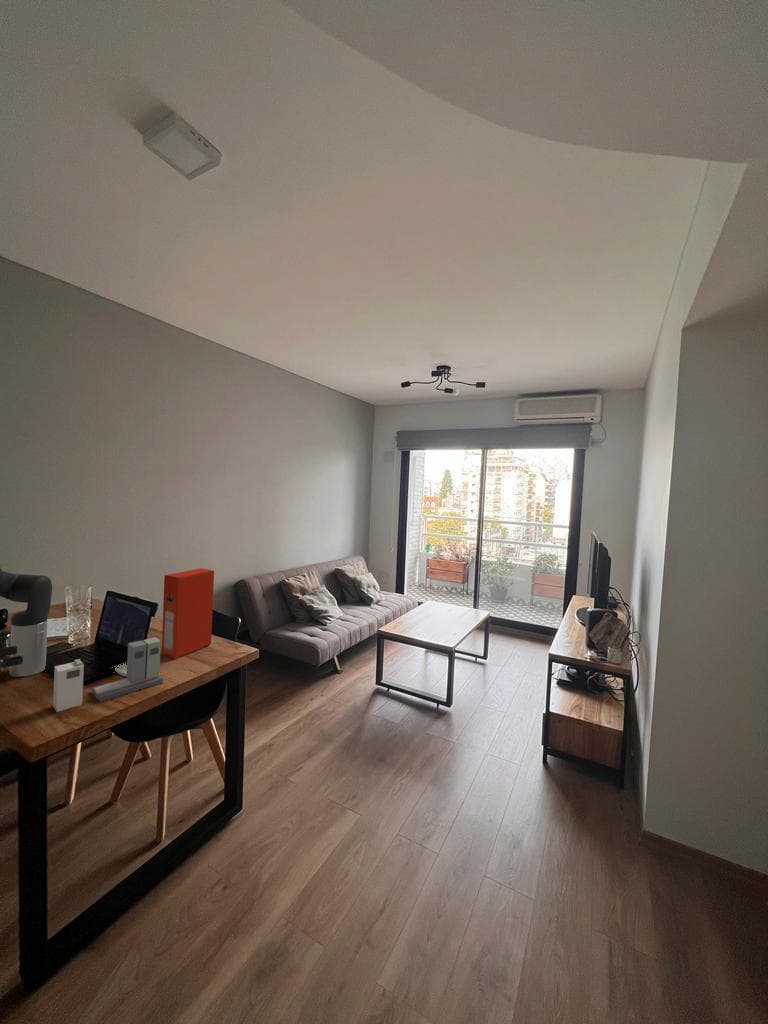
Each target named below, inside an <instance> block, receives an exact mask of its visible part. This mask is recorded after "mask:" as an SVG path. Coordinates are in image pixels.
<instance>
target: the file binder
mask: <svg viewBox="0 0 768 1024" xmlns="http://www.w3.org/2000/svg"><path fill="white" fill-rule="evenodd" d="M163 580H164V583H163V605H162V607H163V608H162V610H163V611H162V634H161V636H162V637H161V655H162V656H164V657H167V658H170V659H174V660H176V659H179V658H181V657H183V656H186V655H188V654H191V653H192V652H195V651H198V650H200V649H202V648H205V647H207V646H210V645H212V632H213V631H212V630H213V629H212V628H213V606H214V605H213V604H214V585H215V584H214V583H215V571H214V570H211V569H208V568H202V567H201V568H196V569H195V568H194V569H190V570H186V571H180V572H175V573H170V574H165V575H164V579H163Z"/></svg>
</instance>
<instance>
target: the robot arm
mask: <svg viewBox="0 0 768 1024" xmlns="http://www.w3.org/2000/svg"><path fill="white" fill-rule="evenodd" d="M52 594H53V582H52V580H51V578H50V577H48V576H47V575H36V574H21V573H20V574H19V573H12V572H9V571H8V572H7V571H4V570H2V567H0V597H1V598H3V599H6V600H7V601H11V602H15V603H24V604H25V603H26V605H27V606H26V609H25V610H22V611H18V612H16V613H14V614H13V615H12V616H11V619H10V620H11V622H10V624H11V625H10V633H11V634H10V646H6V647H2V648H1V647H0V673H1V670H3V669H5V668H9V676H11V677H15V678H16V677H17V678H19V677H21V678H22V677H30V676H32V675H33V676H34V675H36V674H40V673H41V672H43V671H45V669H46V668H45V666H47V663H46V662H47V643H48V642H47V639H48V618H49V617H48V616H49V613H50V611H51V606H52V604H51V603H52ZM8 656H9V657H8ZM4 657H6V658H4Z"/></svg>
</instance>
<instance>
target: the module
mask: <svg viewBox="0 0 768 1024" xmlns="http://www.w3.org/2000/svg"><path fill="white" fill-rule="evenodd" d="M84 665H85V664H84V663H83V661H81V659H80V658H78V659H74V661H73V662H69V663H64V664H59V665H54V671H53V672H54V676H53V677H54V678H53V700H52V701H53V703H52V706H53V708H54V710H55V711H56V713H58V712H62V711H65V710H69V709H72V708H75V707H79V706H82V705H83V694H84V693H83V692H84V673H85V672H84V671H85V669H84V668H85V666H84Z"/></svg>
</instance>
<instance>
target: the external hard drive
mask: <svg viewBox="0 0 768 1024" xmlns="http://www.w3.org/2000/svg"><path fill="white" fill-rule="evenodd" d="M124 663H125V664H124ZM121 664H123V665H121ZM119 665H120V666H119ZM116 666H117V665H115V666H113V667H116ZM113 667H111V668H113ZM117 667H119V668H117ZM117 667H116V668H115V671H116V672H117V673H118V675H120V676H123V677H125V678H127V665H126V662H123V663H120V664H118V666H117ZM117 673H116V674H117Z"/></svg>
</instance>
